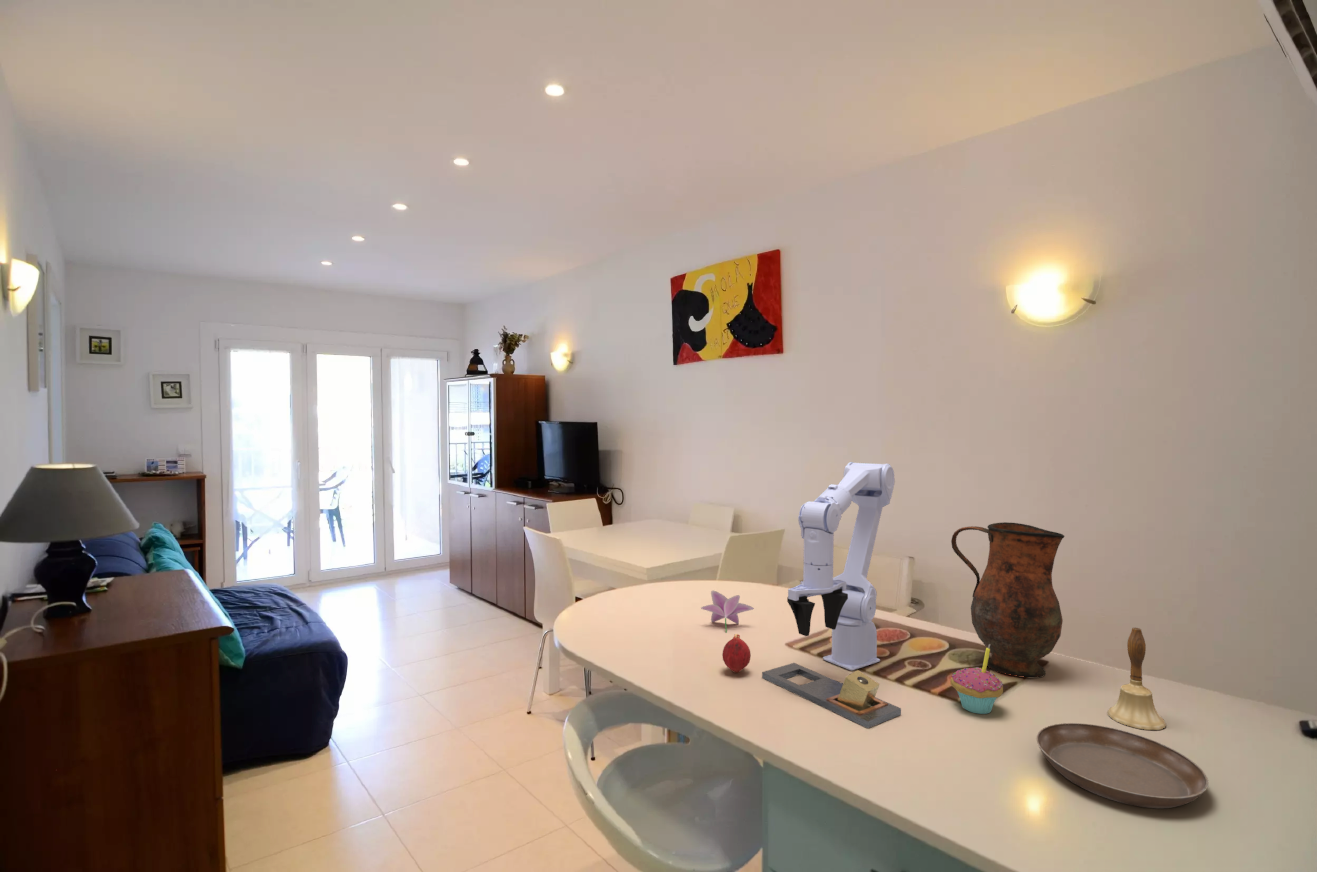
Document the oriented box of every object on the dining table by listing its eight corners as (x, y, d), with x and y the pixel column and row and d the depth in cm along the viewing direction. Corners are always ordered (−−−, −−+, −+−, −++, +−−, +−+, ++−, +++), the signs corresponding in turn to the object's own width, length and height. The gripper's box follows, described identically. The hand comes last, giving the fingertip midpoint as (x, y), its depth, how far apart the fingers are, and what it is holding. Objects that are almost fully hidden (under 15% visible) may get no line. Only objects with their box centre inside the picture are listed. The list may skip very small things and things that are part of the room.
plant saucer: (1210, 773, 98) (1211, 751, 98) (1204, 840, 82) (1204, 814, 82) (1052, 729, 112) (1052, 710, 112) (1021, 780, 96) (1021, 757, 96)
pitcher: (1056, 692, 126) (1059, 536, 125) (939, 666, 139) (941, 525, 138) (1067, 666, 139) (1069, 524, 138) (959, 644, 152) (961, 515, 151)
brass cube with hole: (849, 692, 123) (857, 669, 121) (870, 707, 120) (879, 683, 118) (837, 699, 119) (845, 676, 118) (859, 715, 116) (868, 691, 115)
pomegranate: (749, 679, 132) (749, 639, 132) (720, 677, 134) (721, 638, 133) (751, 668, 138) (751, 630, 138) (724, 666, 139) (724, 628, 139)
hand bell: (1096, 713, 117) (1098, 624, 117) (1126, 705, 120) (1127, 619, 120) (1146, 734, 109) (1148, 639, 109) (1177, 725, 113) (1179, 632, 112)
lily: (760, 633, 164) (756, 595, 168) (737, 626, 155) (733, 585, 159) (718, 640, 169) (715, 603, 174) (694, 633, 161) (691, 594, 165)
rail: (793, 668, 138) (794, 661, 138) (900, 714, 117) (901, 706, 117) (762, 677, 133) (762, 670, 133) (867, 728, 112) (867, 720, 112)
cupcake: (998, 702, 122) (999, 637, 121) (1006, 722, 114) (1007, 653, 113) (948, 695, 125) (949, 632, 124) (952, 715, 117) (953, 648, 116)
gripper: (827, 555, 137) (827, 620, 137) (777, 563, 129) (776, 631, 129) (855, 561, 131) (854, 629, 132) (803, 569, 123) (802, 642, 124)
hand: (817, 631), depth 130 cm, fingers open, 7 cm apart
